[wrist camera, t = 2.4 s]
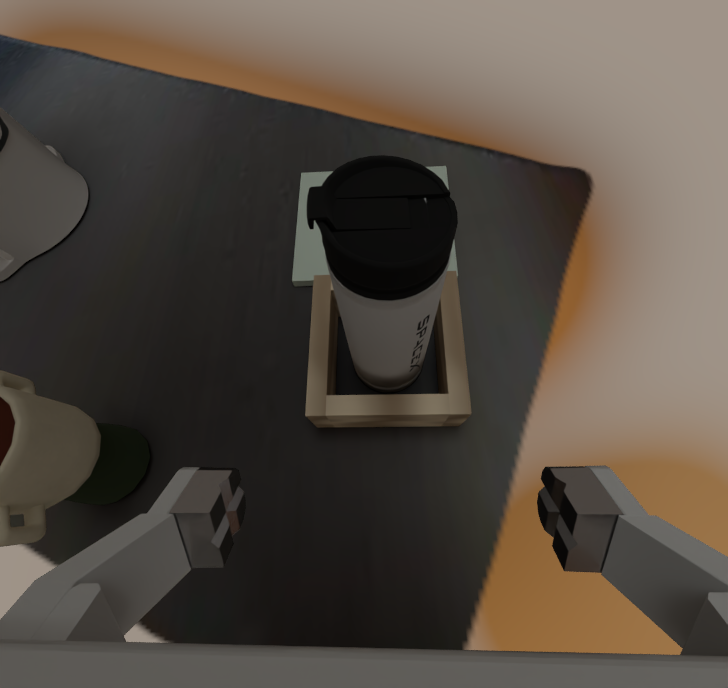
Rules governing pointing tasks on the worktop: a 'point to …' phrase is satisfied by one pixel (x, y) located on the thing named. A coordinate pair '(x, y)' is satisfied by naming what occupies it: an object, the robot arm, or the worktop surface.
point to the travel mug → (385, 260)
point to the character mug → (58, 458)
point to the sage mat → (310, 240)
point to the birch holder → (387, 409)
